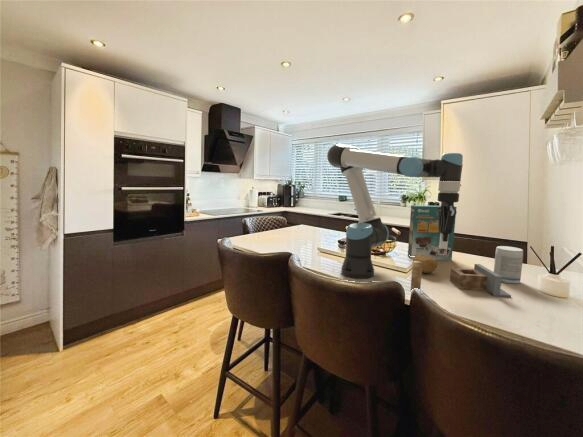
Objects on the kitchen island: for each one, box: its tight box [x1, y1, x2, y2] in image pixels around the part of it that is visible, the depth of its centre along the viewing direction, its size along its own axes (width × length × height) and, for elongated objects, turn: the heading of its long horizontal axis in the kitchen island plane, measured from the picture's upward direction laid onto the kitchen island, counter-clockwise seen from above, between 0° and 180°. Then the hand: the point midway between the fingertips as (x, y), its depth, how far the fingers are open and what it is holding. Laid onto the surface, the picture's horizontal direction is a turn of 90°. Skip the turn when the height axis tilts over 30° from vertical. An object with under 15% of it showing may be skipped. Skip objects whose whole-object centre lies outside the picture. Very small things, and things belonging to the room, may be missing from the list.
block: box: [449, 267, 487, 292], centre depth 115 cm, size 10×9×6 cm
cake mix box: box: [407, 204, 457, 261], centre depth 155 cm, size 22×6×30 cm, turn 85°
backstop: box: [473, 263, 512, 298], centre depth 112 cm, size 6×16×8 cm, turn 171°
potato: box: [412, 255, 438, 274], centre depth 132 cm, size 10×14×8 cm
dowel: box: [410, 260, 423, 291], centre depth 108 cm, size 4×4×12 cm
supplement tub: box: [493, 245, 524, 284], centre depth 121 cm, size 10×10×15 cm
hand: (442, 248), depth 115 cm, fingers closed
